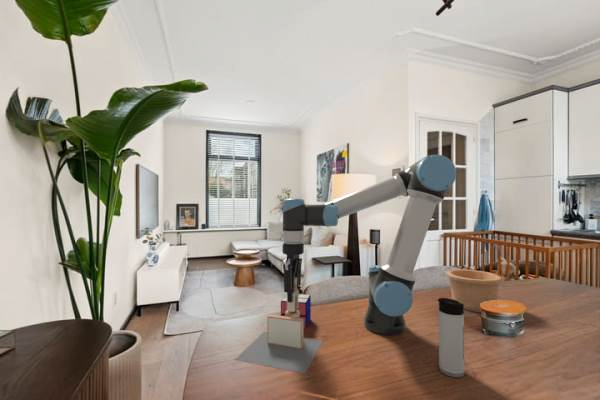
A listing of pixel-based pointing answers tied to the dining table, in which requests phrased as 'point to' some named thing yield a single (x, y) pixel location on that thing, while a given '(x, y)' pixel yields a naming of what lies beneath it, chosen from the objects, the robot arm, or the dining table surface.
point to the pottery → (473, 287)
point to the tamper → (296, 313)
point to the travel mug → (451, 337)
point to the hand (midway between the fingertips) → (292, 309)
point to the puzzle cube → (300, 308)
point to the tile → (285, 331)
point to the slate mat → (280, 354)
